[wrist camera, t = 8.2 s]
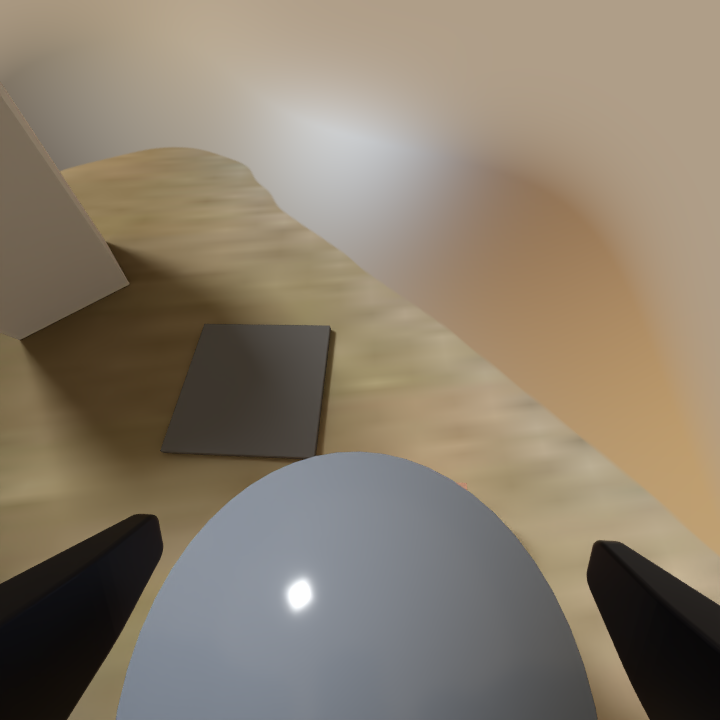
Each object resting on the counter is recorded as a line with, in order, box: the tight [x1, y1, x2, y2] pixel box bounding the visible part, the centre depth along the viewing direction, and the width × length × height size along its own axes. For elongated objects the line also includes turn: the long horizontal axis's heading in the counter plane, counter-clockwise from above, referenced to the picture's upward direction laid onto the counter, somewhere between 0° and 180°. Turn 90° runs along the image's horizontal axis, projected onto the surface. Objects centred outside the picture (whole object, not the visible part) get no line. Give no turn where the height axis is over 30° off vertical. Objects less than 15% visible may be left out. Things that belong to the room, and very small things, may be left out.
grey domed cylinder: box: [116, 452, 597, 720], centre depth 8 cm, size 5×5×10 cm
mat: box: [160, 324, 331, 459], centre depth 21 cm, size 9×9×1 cm
